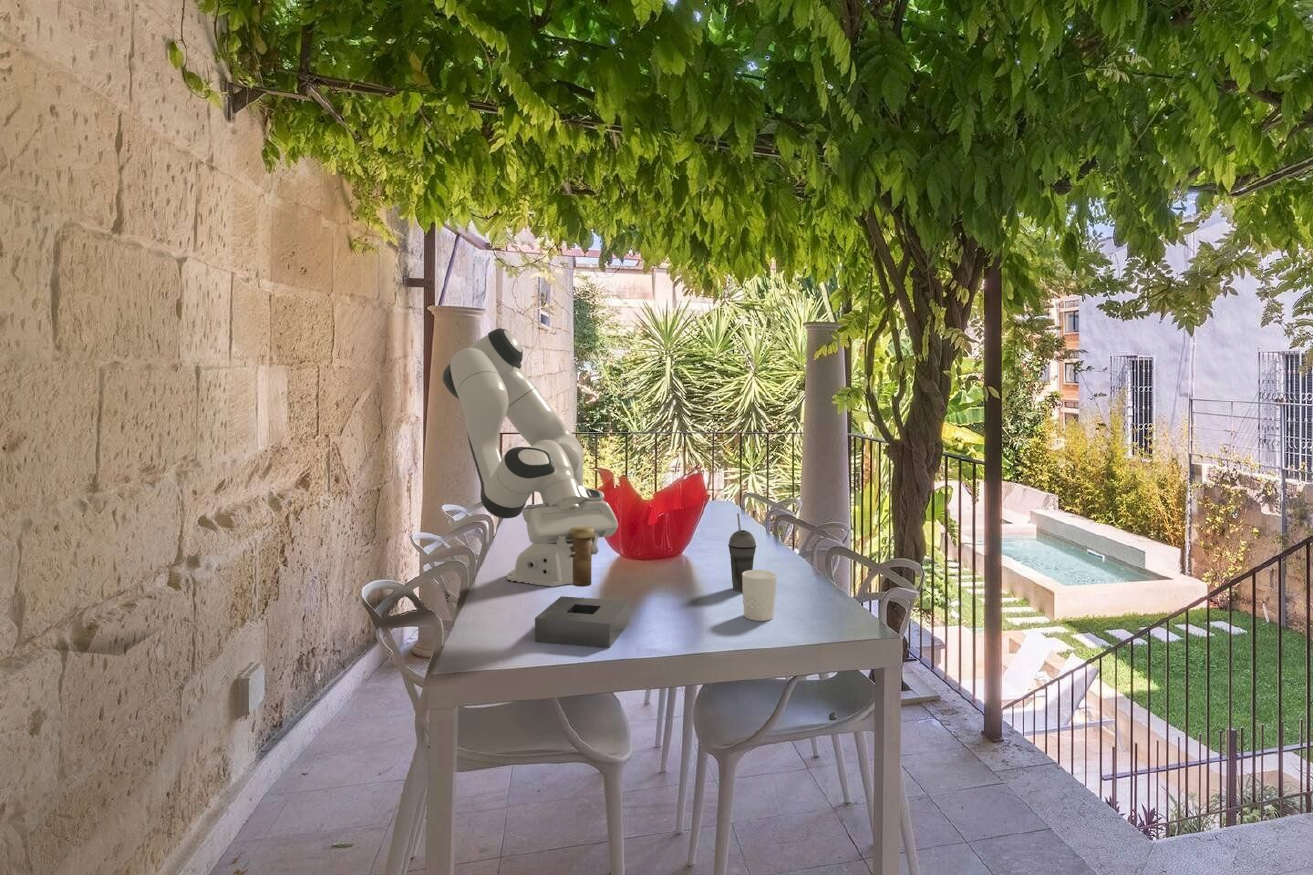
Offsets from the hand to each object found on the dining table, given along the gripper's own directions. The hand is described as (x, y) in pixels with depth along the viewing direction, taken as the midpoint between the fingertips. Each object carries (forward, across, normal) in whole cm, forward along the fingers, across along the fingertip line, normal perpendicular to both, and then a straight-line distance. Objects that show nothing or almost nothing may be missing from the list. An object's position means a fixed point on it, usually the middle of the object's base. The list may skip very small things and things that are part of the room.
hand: (583, 554), depth 155 cm
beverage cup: (+5, +50, +19) cm, 54 cm away
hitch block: (+12, 0, +12) cm, 17 cm away
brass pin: (+4, 0, +5) cm, 7 cm away
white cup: (+20, +40, +4) cm, 44 cm away
